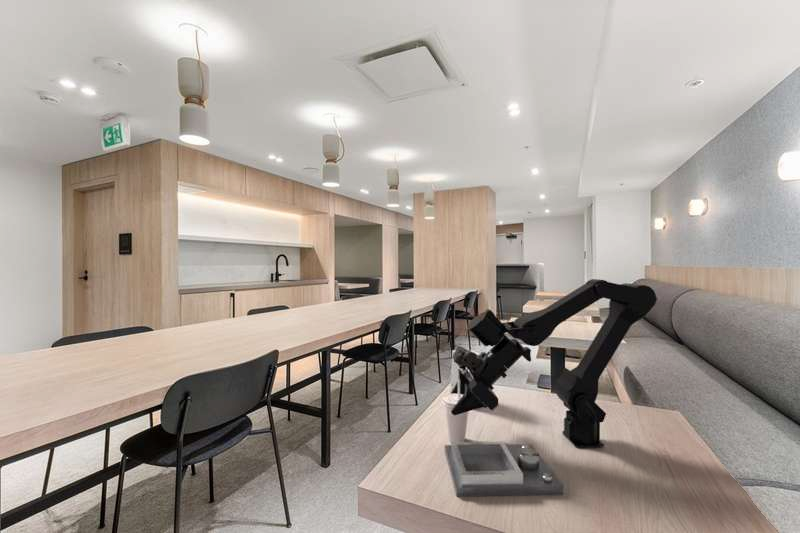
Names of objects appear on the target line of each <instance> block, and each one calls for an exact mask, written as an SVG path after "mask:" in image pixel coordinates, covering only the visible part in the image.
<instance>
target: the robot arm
mask: <svg viewBox="0 0 800 533" xmlns="http://www.w3.org/2000/svg"><path fill="white" fill-rule="evenodd" d="M601 299H606V300H607V299H608V300H609V303H608V307H609V308H608V309H609V312H608V316H606V318H605V321H604V322H603V323H602V326H601V327H600V329H599V330H598V332H597V333H596V335H595V337H594V339H593V340H592V342H591V343H590V345H589V347H588V348H587V350H586V351H585V354H583V357H582V358H581V360H580V361H579V363H578V365H577V366H576V367H574V368H573V369H571V370H570V369H568V368H567V367H564V368H563V370H562V372H561V374H560V376H559V378H557V379H556V380H555V383H556V386H555V393H556V396H557V398H558V399H560V400H561V401H562V402H563V406H564V407H565V408H567V409H568V410H566V411H565V417H564V419H563V431H562V434H563V437H565V438H567V440H568V441H569V442H570V443H571V444H572V445H573V446H574V447H575V448H605V444H604V442H602V441H601V423H603V422H604V420H605V418H606V415H607V413H606V412H605V410H604V409H602V407H600V406H599V405H598V404H597V403H596V400H597V397H598V395H599V383H600V382H599V380H600V378H601V376H602V375H603V373H604V371H605V369H606V368H607V366H608V364H609V362H610V361H611V359H612V358H613V357H614V355H615V353H616V351H617V350H618V348H619V346H620V345H621V343H622V342H623V340H624V339H625V337H626V335H627V333H628V332H629V330H630V329H631V327H632V325H634V324H636V323H637V322H638V321H640V320H642V319H643V318H645V317H647V315H648V314H649V313H650V312H651V311H652V309H653V308H654V307H655V306H656V304H657V301H658V297H657V295H656V292H655V291H654V289H653V288H652V287H650V286H648V285H645V284H638V283H637V284H635V283H627V282H626V283H620V284H619V283H615V282H611V281H607V280H604V279H597V278H592V279H588V281H586V282H585V283H583V285H581V286H580V287H578V288H576V289H575V290H572V291H571V292H570V293H568V294H566V295H565V296H563V297H561V298H560V299H559V300H556V301H554V302H553V303H551V304H550V305H549V306H547V307H544V308H543V309H540V310H537V311H532V312H529V313H527V314H524V315H522V316H518V317H517V318H516V319H515V320H514V321H507V322H502V321H501V320H500V319H499V318H498V317H497V316H496V315H495V313H494V312H493V311H492V310H491V309H490V308H487V309H486V310H485V311H483V312H481V313H479V314H478V315H477V316H474V317H473V318H472V319H471V320H470V322H469V323H468V325H467V327H466V328H467V330H468V331H469V332H470V333H471V334H472V335H473V336H474V337H475V338H476V340H478V341H479V342H480V343H481V344H482V345H483V346H484V347H488V346H489V347H491V348H490V349H489V351H488V352H485V351H482V352H481V354H480V355H477V354H475V352H476V351H475V352H471V351H470V350H471V349H468V348H465V347H463V346H460V345H457V347H456V348H455V349H454V350H455V353H454V355H453V357H452V356H451V359H452V358H453V359H454V362H455V363H457V364H458V366H459V367H460V368H461V369H462V370H460V369H458V376H459V379H458V380H460V394H463V396H462V397H461V399H460V400H459V401H458V402H457V404H456V405H455V406H454V408H453V409H452V411H451V413H452V414H453V415H458V414H461V413H465V412H468V413H469V412H471V411H474V410H475V411H476V410H479V409H482V408H484V409H487V408H488V409H489V411H490V412H492V411H494V410H495V409H496V408H497V407H498V406H499V398H498V396H497V395H496V393H495V392H494V391H493V390H494V389H495V387H494V386H493V385H494V384H495V383H496V382H497V381H498V380H499V379H500V378H501V377H502V378H503V379H505V378H506V377H507V376H508V375H507V373H506V372H507V371H508V370H509V369H510V368H511V367H512V366H513V365H515V363H516V362H517V361H519V359H520V358H521V357H523V358H524V359H525V360H526V361H527V362H531V361H532V356H531V355H532V354H531V352H532V349H530V348H529V347H528V346H532V347H536V346H539V345H541V344H543V342H545V340H547V339H548V338H549V337H550V336H551V335H552V334H553V332H554V331H555V330H556V328H557V327H558V326H559V325H560V324H562V323H563V322H565V321H567V320H568V319H570V318H572V317H573V316H575V315H576V314H578V313H581V311H583V310H585V309H587V308H588V307H590V306H591V305H593V304H594V303H596V302H599V301H600V300H601ZM506 334H507V335H509V336H510V337H511V338H513V339H510V338H508V336H507V335H506ZM518 340H519V341H521V342H523V343H524V344H525V345H528V346H523V345H522V344H521V343H520V342H519V341H518ZM467 349H468V350H467ZM454 393H455V394H458V381H457V383H456V385H455V387H454V388H453V390H452V392H451V394H454Z"/></svg>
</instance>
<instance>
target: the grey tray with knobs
mask: <svg viewBox="0 0 800 533" xmlns="http://www.w3.org/2000/svg"><path fill="white" fill-rule="evenodd" d="M450 443H451V444H447V445H446V444H444V455H445V459H446V462H447V465H448V469H449V472H450V476H451V481H452V484H453V488H454V491H455V495H456V497H499V496H500V497H501V496H502V497H503V496H506V497H507V496H512V497H513V496H557V495H558V496H561V495H564V486H563V484H562V483H561V480H559V479H558V477H557V476H556V475H555V474H554V472H553V471H552V469H551V468H550V466H548V464H547V462H546V461H545V460H544V459H543V458H542V456H541V455H540V453H539V452H538V451H537V450H536V448H535V447H534V445H533V444H532V443H522V444H521V443H517V444H514V443H513V444H512V443H510V444H507V443H505V442H504V441H464V442H450Z"/></svg>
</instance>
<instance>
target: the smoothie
mask: <svg viewBox="0 0 800 533" xmlns="http://www.w3.org/2000/svg"><path fill="white" fill-rule="evenodd" d="M462 396H463V394H460V380H458V394H455V393H454V394H450V393H448V394H444V395H443V396H442V404H443V405H444V412H445V413H444V414H445V421H446V428H447V429H446V430H447V437H448V441H449V442H450V443H451V442H466V441H465V440H466V434H467V433H466V432H467V423H468V416H469V411H468V412H465V413H461V414H458V415H453V414H452V413H451V411H452V409H453V408H454V406H455V405H456V404H457V402H458V401H459V400H460V399H461V397H462Z"/></svg>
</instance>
